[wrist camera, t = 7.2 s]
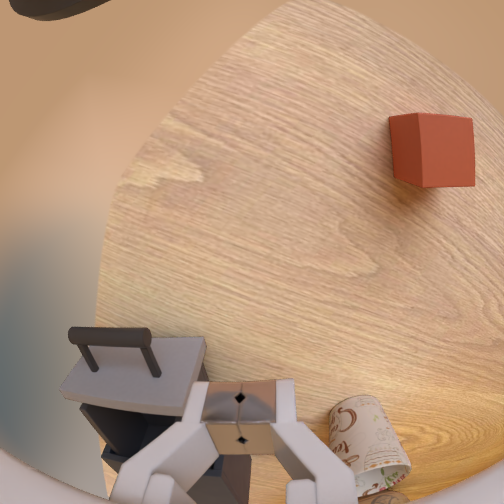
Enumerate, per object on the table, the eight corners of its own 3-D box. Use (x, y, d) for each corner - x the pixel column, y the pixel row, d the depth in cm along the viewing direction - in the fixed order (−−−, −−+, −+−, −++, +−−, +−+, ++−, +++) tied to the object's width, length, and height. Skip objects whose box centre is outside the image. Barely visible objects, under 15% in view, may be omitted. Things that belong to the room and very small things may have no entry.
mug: (362, 377, 26) (385, 458, 16) (415, 410, 28) (438, 471, 19) (304, 417, 28) (309, 493, 19) (366, 442, 31) (378, 502, 21)
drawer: (80, 298, 23) (32, 347, 16) (191, 291, 22) (160, 358, 15) (143, 420, 29) (124, 468, 22) (232, 425, 28) (225, 483, 21)
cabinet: (129, 394, 29) (100, 456, 20) (232, 399, 28) (221, 477, 19) (168, 454, 34) (154, 504, 25) (251, 459, 33) (247, 516, 24)
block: (393, 177, 19) (422, 188, 15) (388, 116, 17) (417, 112, 13) (441, 176, 18) (475, 186, 14) (438, 119, 17) (472, 118, 12)
